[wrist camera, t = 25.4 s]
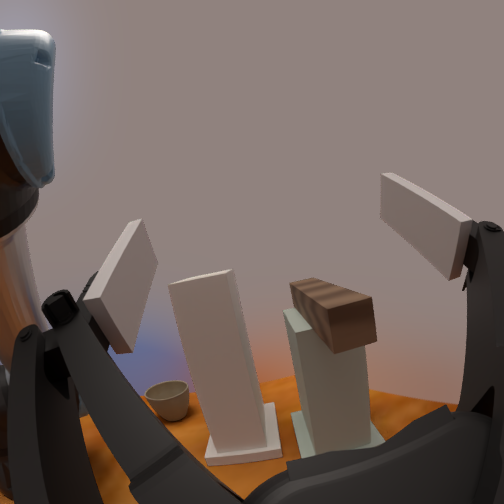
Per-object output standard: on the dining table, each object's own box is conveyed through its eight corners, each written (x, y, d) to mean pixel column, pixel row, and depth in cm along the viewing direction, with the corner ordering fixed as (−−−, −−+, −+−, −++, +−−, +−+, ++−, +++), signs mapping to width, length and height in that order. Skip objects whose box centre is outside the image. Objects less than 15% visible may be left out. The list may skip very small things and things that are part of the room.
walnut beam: (377, 341, 22) (371, 297, 22) (334, 354, 22) (327, 309, 22) (317, 301, 46) (313, 277, 46) (294, 306, 46) (289, 282, 46)
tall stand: (282, 457, 35) (240, 270, 36) (207, 466, 35) (151, 288, 36) (275, 409, 51) (244, 266, 52) (218, 418, 51) (181, 279, 52)
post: (385, 451, 30) (379, 312, 30) (305, 475, 30) (278, 339, 30) (353, 404, 46) (339, 295, 46) (292, 421, 46) (270, 311, 46)
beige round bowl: (148, 426, 50) (136, 399, 50) (164, 406, 60) (155, 381, 60) (189, 427, 49) (178, 398, 49) (201, 405, 59) (193, 378, 59)
